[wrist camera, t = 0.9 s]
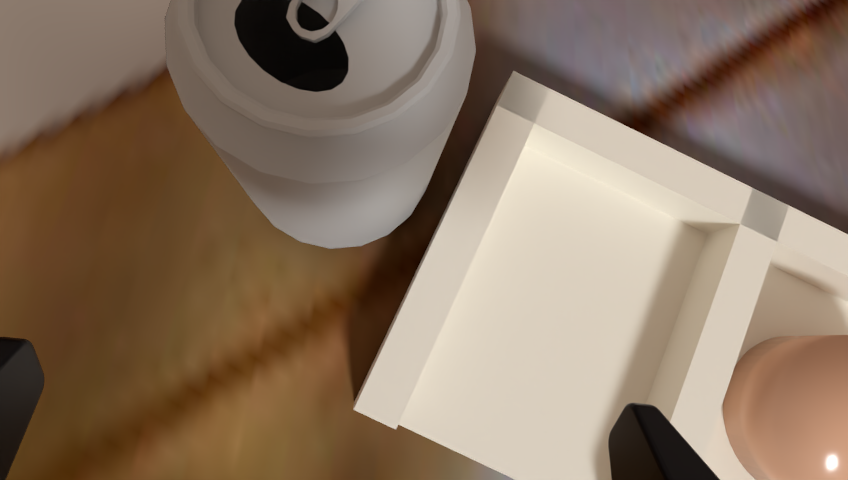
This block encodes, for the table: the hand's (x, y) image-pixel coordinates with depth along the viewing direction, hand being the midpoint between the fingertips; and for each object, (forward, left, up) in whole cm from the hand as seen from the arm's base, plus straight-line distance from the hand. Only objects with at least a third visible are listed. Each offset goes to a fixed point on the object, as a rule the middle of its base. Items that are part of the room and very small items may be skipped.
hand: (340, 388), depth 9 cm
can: (+6, +6, -15) cm, 17 cm away
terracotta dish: (+10, -15, -14) cm, 23 cm away
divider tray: (+9, -10, -14) cm, 20 cm away
